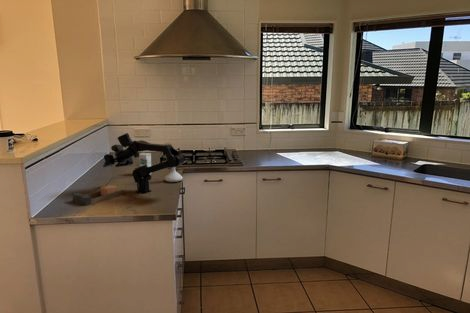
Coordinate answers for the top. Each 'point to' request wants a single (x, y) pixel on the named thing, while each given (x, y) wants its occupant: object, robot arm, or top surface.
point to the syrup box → (145, 159)
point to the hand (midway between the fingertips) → (109, 166)
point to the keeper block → (108, 189)
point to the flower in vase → (173, 175)
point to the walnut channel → (87, 200)
